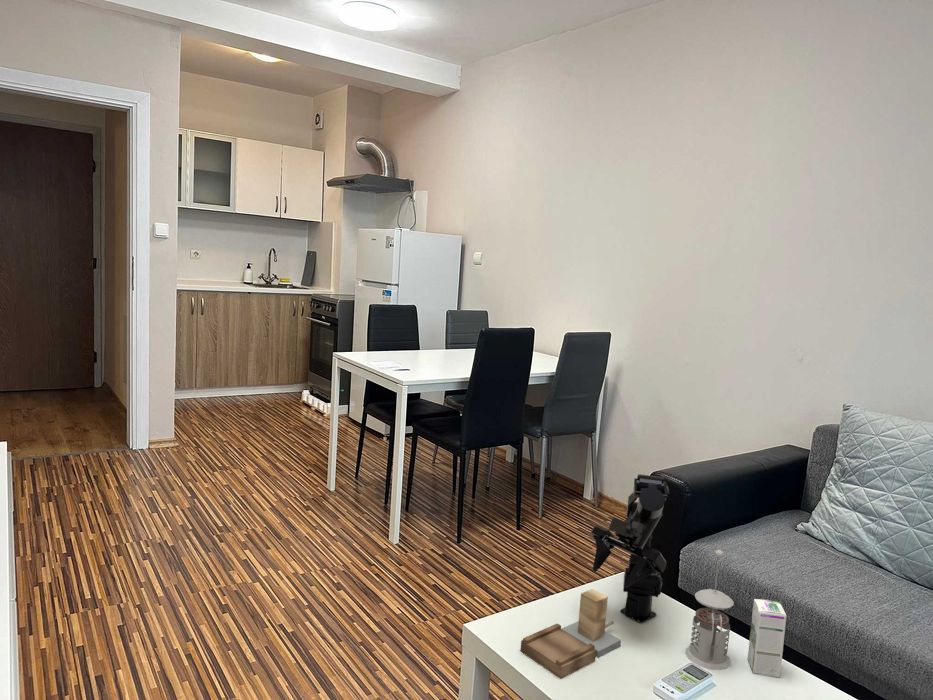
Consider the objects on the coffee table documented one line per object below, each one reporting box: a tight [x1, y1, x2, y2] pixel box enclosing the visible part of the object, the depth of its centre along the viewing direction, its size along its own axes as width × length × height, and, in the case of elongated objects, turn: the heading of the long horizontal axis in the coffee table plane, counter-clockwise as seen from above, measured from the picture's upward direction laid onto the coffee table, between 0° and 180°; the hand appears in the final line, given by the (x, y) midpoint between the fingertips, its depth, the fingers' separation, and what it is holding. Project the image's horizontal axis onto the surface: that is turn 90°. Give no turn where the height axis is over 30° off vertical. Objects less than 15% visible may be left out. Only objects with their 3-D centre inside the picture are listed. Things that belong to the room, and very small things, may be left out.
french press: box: [684, 549, 735, 671], centre depth 148 cm, size 10×12×25 cm
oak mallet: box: [578, 588, 615, 641], centre depth 155 cm, size 10×4×10 cm, turn 130°
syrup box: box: [747, 598, 787, 678], centre depth 146 cm, size 6×6×14 cm
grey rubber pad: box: [561, 620, 622, 658], centre depth 154 cm, size 8×11×2 cm
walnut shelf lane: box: [520, 623, 597, 679], centre depth 147 cm, size 11×12×3 cm
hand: (609, 578), depth 155 cm, fingers open, 9 cm apart
